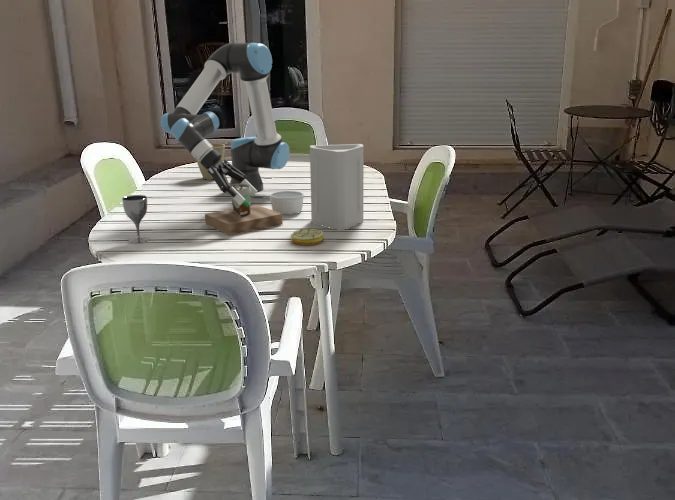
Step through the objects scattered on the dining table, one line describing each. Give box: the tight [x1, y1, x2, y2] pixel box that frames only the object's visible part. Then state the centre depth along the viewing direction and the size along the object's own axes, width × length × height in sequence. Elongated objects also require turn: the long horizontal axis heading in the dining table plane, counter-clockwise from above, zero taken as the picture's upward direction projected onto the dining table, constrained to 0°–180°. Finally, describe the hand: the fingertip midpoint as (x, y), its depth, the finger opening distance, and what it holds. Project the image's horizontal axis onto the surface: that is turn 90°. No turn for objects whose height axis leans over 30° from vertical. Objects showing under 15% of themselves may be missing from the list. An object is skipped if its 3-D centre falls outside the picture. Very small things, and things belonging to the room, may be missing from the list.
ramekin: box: [269, 190, 305, 215], centre depth 264 cm, size 13×13×7 cm
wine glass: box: [121, 194, 150, 245], centre depth 227 cm, size 8×8×15 cm
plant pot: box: [195, 142, 226, 181], centre depth 324 cm, size 15×15×16 cm
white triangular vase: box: [309, 143, 365, 231], centre depth 242 cm, size 19×15×28 cm
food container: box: [229, 183, 252, 217], centre depth 246 cm, size 12×6×10 cm, turn 24°
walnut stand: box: [204, 204, 284, 236], centre depth 247 cm, size 22×18×4 cm
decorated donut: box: [290, 228, 324, 246], centre depth 226 cm, size 10×11×4 cm
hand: (249, 198), depth 244 cm, fingers open, 12 cm apart
